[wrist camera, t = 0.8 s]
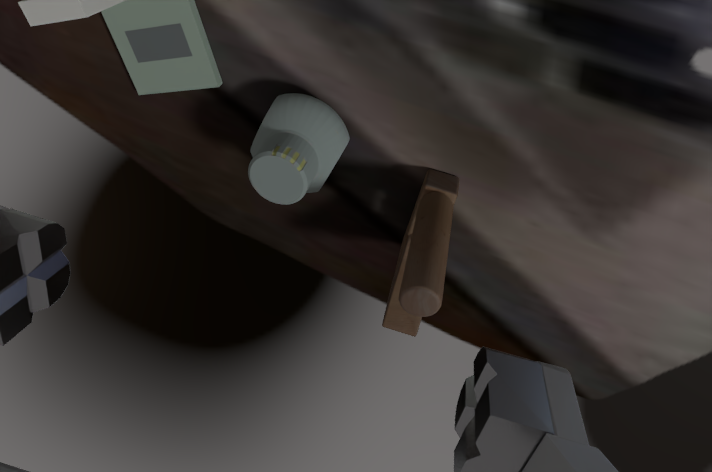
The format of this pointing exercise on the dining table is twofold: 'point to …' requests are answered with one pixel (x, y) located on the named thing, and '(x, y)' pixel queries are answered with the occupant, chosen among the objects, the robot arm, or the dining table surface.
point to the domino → (62, 9)
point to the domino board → (163, 45)
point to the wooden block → (423, 255)
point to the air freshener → (296, 148)
